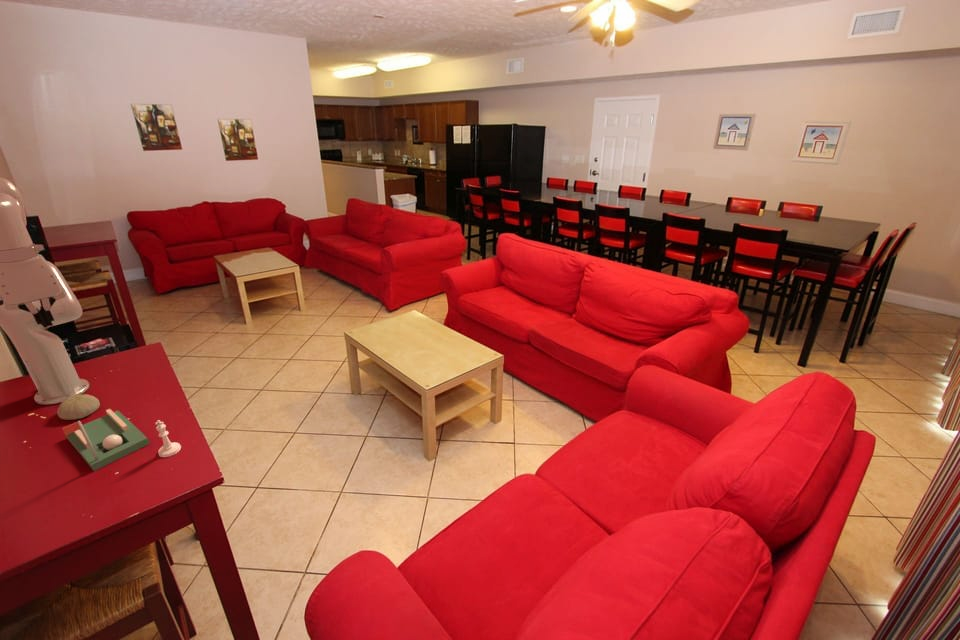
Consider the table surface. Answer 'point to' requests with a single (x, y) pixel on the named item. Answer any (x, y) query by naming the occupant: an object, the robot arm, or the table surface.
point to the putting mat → (94, 432)
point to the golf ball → (112, 442)
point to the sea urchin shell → (78, 407)
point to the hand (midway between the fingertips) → (47, 325)
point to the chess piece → (166, 442)
